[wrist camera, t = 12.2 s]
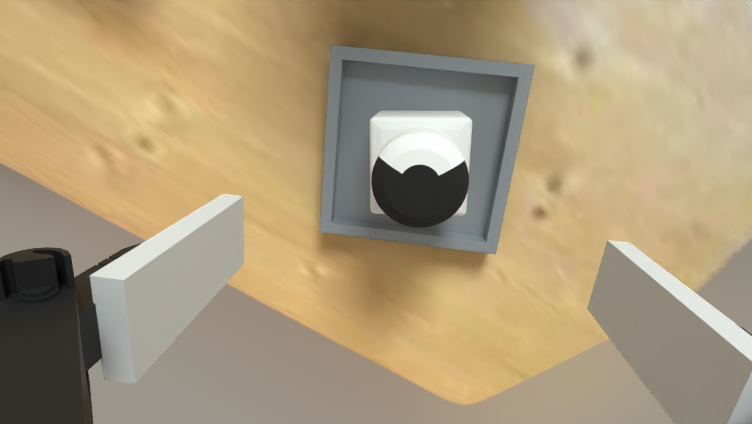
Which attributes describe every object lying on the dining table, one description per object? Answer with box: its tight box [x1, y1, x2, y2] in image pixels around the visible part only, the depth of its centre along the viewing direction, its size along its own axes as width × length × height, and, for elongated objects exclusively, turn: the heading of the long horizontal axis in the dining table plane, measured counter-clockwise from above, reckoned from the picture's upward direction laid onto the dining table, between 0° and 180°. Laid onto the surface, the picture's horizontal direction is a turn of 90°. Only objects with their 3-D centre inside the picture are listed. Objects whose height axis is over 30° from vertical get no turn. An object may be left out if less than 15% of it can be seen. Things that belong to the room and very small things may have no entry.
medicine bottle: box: [370, 110, 472, 228], centre depth 31 cm, size 7×7×12 cm
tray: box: [320, 45, 535, 254], centre depth 36 cm, size 16×16×2 cm
